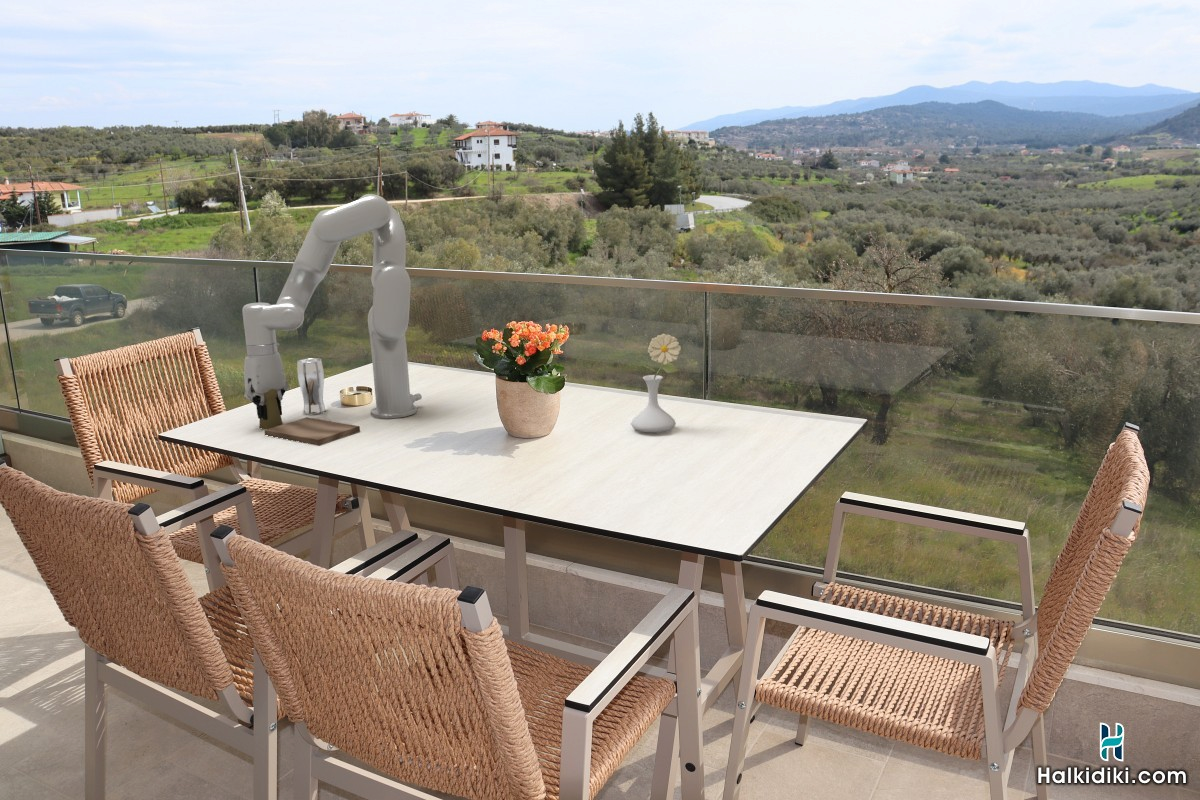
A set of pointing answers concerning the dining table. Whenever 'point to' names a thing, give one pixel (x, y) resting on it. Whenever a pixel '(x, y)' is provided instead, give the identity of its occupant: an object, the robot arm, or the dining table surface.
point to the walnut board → (312, 431)
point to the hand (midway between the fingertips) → (270, 416)
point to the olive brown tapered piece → (271, 411)
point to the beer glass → (311, 384)
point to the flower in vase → (653, 415)
